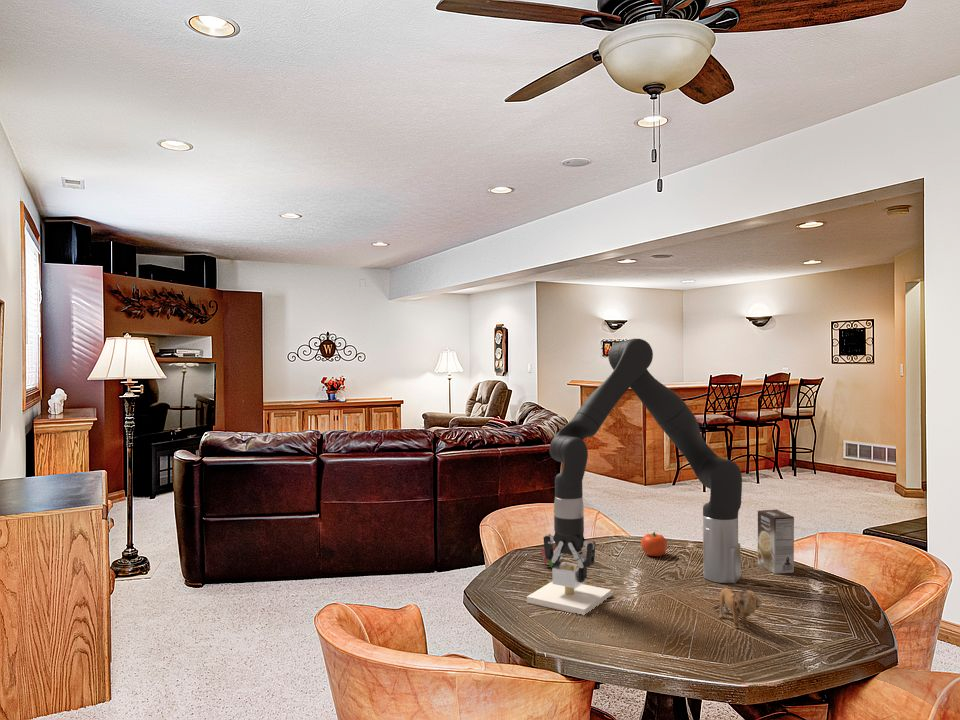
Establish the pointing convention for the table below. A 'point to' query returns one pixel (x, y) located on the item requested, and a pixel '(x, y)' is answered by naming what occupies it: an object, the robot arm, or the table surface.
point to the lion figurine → (738, 604)
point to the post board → (569, 597)
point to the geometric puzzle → (548, 559)
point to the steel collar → (566, 575)
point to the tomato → (654, 544)
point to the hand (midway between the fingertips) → (569, 579)
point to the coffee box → (776, 541)
